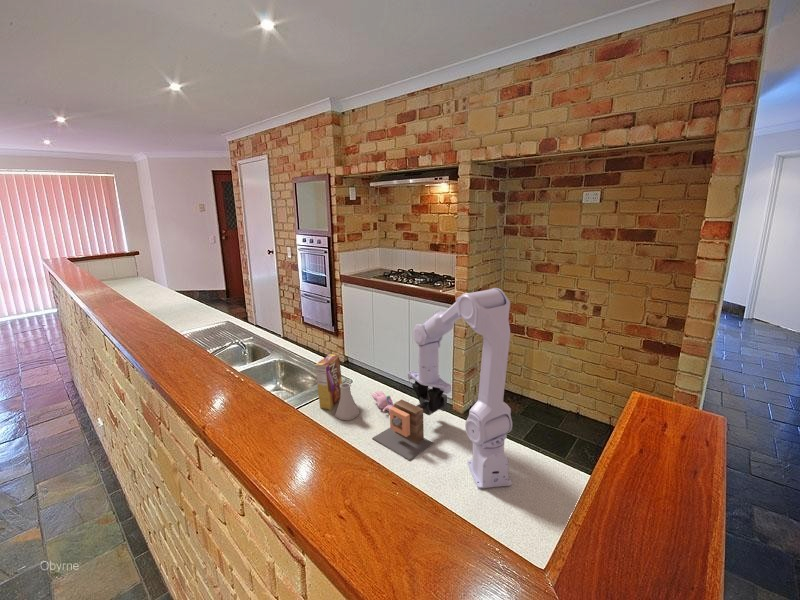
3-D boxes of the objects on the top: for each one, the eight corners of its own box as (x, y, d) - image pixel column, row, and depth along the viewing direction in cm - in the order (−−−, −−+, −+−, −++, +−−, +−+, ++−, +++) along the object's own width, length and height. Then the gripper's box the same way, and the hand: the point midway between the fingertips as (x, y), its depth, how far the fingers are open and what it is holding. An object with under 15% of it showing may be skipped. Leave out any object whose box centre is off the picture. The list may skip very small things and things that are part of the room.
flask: (330, 417, 120) (328, 387, 117) (344, 406, 126) (342, 378, 124) (350, 423, 116) (348, 392, 114) (363, 411, 123) (361, 382, 120)
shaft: (404, 436, 101) (403, 420, 100) (385, 426, 106) (385, 411, 105) (447, 409, 114) (447, 395, 112) (428, 401, 118) (428, 388, 117)
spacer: (406, 437, 103) (405, 416, 101) (390, 428, 107) (389, 408, 105) (410, 434, 104) (409, 414, 102) (394, 426, 108) (393, 406, 106)
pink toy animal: (407, 419, 120) (381, 394, 131) (409, 403, 118) (381, 379, 129) (391, 426, 117) (365, 399, 128) (392, 409, 115) (365, 384, 126)
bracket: (416, 444, 105) (415, 413, 102) (395, 432, 110) (394, 403, 108) (423, 439, 107) (423, 409, 104) (402, 428, 112) (401, 399, 110)
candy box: (332, 395, 134) (329, 353, 130) (343, 397, 132) (340, 354, 129) (318, 408, 126) (314, 363, 122) (330, 410, 124) (326, 365, 120)
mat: (409, 460, 98) (409, 459, 98) (372, 439, 108) (372, 437, 108) (433, 444, 105) (433, 442, 105) (396, 424, 115) (396, 423, 115)
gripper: (457, 366, 108) (457, 410, 111) (418, 353, 117) (419, 394, 121) (441, 374, 103) (442, 421, 106) (402, 360, 113) (403, 403, 116)
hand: (428, 407), depth 113 cm, fingers closed on shaft, 3 cm apart
